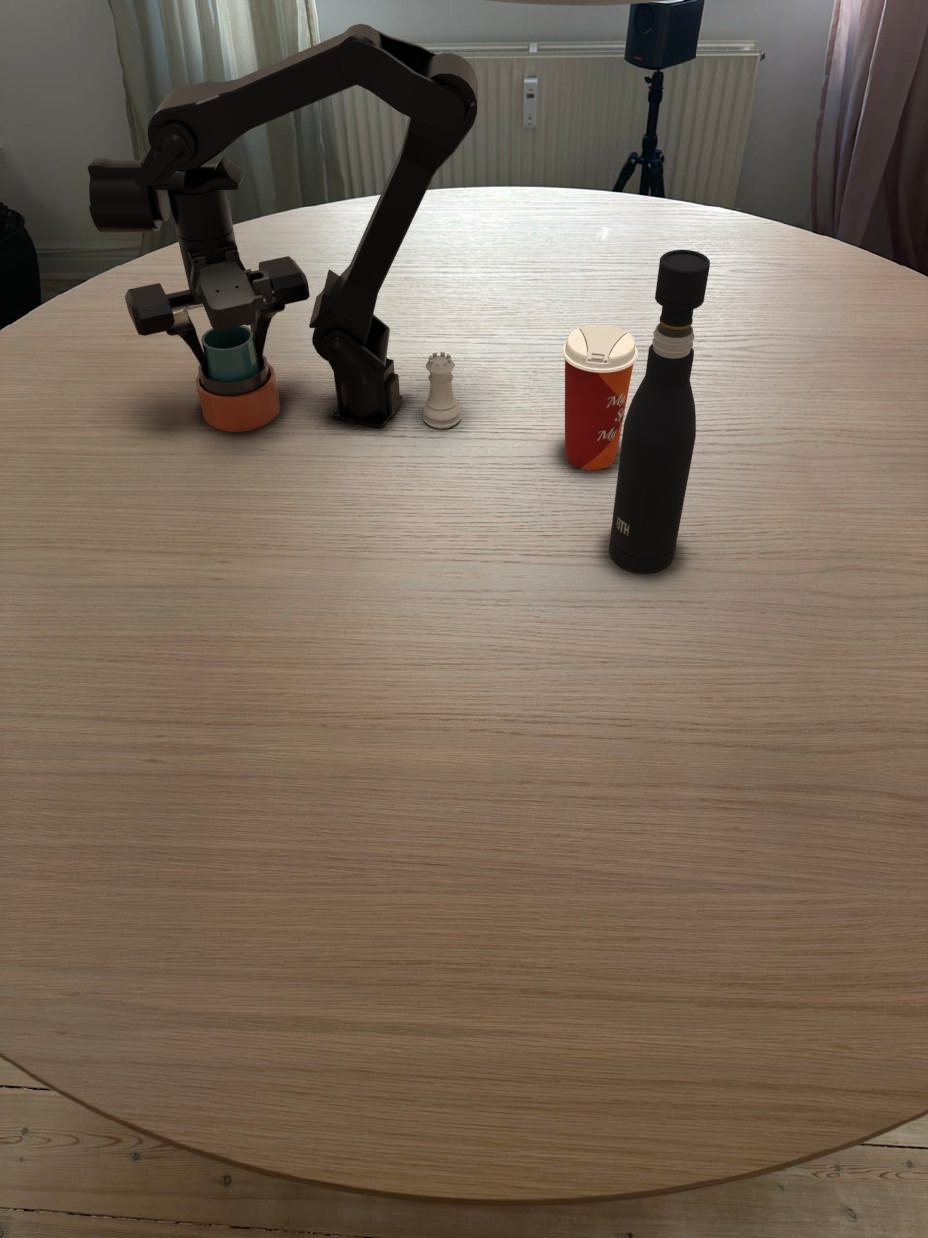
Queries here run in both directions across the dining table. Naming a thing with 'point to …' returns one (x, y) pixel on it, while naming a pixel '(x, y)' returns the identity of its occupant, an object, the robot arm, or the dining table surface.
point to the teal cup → (230, 354)
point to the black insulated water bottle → (660, 425)
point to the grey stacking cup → (236, 382)
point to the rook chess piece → (441, 393)
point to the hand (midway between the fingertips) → (232, 364)
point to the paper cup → (596, 393)
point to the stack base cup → (241, 407)
